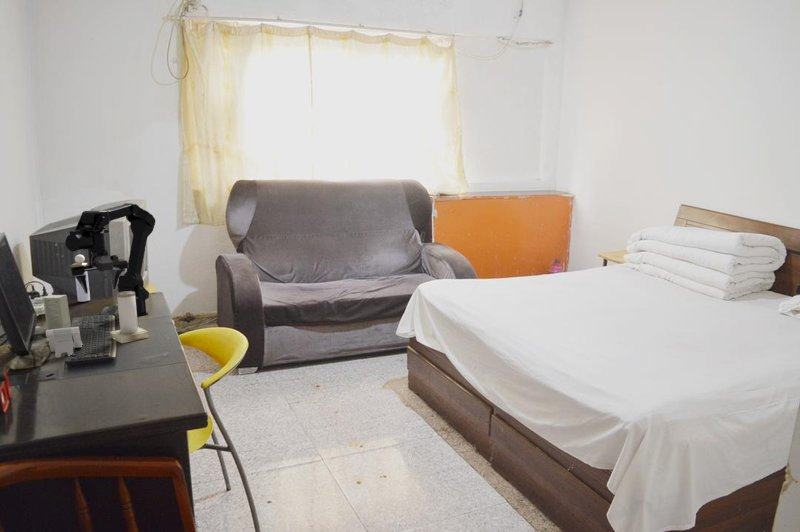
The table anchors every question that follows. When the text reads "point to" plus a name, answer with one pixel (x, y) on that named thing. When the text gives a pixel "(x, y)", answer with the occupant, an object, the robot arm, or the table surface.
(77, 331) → the portable electronic device stand
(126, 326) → the tumbler
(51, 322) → the skincare box
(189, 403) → the table surface
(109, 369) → the table surface
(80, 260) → the perfume bottle
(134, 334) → the square tray
